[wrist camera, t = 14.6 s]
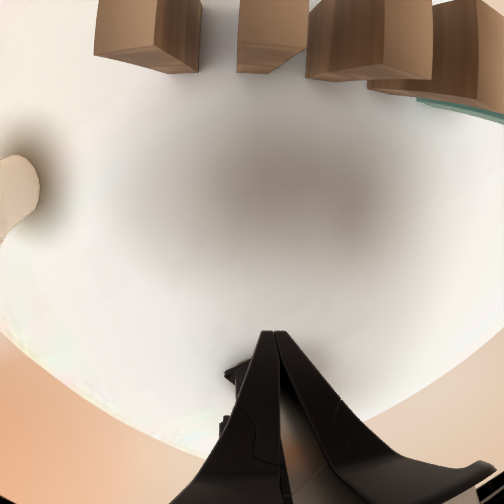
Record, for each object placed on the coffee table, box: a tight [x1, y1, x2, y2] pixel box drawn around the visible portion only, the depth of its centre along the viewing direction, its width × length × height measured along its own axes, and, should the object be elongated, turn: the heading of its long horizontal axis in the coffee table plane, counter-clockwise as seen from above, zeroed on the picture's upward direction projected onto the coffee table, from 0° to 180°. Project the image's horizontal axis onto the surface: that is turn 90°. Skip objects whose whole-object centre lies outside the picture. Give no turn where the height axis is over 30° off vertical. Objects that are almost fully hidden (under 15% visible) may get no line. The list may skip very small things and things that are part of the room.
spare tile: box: [417, 97, 504, 125], centre depth 11 cm, size 2×5×11 cm, turn 176°
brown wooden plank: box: [237, 0, 309, 74], centre depth 10 cm, size 2×5×11 cm, turn 177°
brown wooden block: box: [305, 0, 433, 82], centre depth 11 cm, size 2×5×11 cm, turn 177°
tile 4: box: [367, 0, 504, 114], centre depth 11 cm, size 2×5×11 cm, turn 177°
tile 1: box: [94, 0, 202, 74], centre depth 10 cm, size 2×5×11 cm, turn 177°
